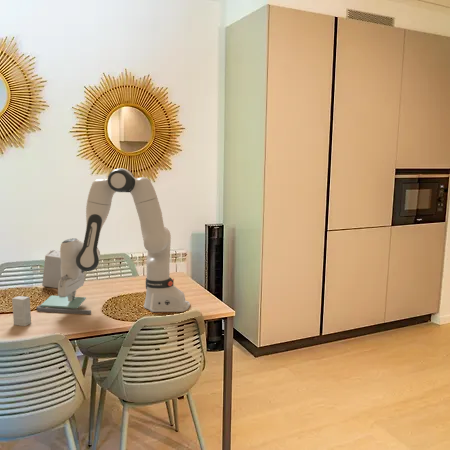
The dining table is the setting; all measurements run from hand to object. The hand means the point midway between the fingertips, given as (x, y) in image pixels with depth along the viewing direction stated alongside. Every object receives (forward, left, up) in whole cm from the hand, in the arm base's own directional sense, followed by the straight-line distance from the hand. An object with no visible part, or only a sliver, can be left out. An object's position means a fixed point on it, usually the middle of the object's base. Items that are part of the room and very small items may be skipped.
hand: (71, 300), depth 224 cm
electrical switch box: (+24, -36, -4) cm, 43 cm away
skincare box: (+12, +23, -4) cm, 26 cm away
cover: (+4, +1, -1) cm, 4 cm away
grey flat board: (+1, +1, -4) cm, 4 cm away
